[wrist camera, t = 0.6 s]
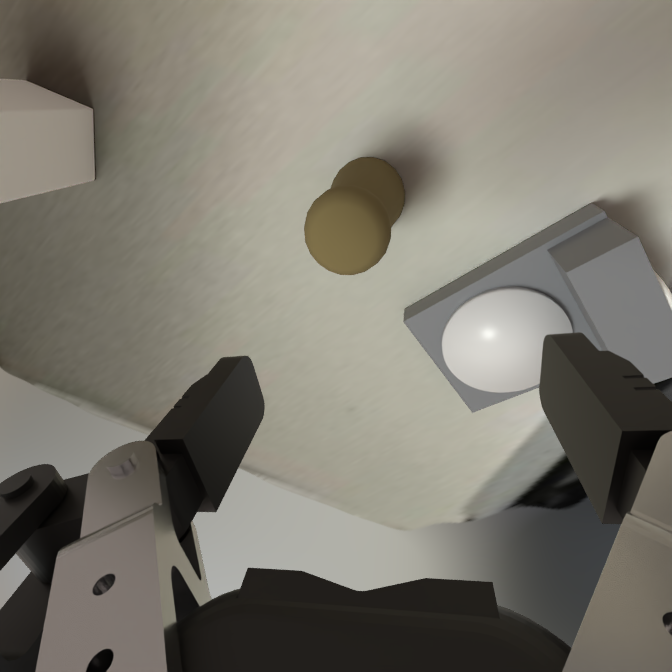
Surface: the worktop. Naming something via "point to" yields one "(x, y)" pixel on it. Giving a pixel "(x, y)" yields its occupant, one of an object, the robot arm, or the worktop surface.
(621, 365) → the robot arm
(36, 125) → the milk
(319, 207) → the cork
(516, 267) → the knob on square plate
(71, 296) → the worktop surface
